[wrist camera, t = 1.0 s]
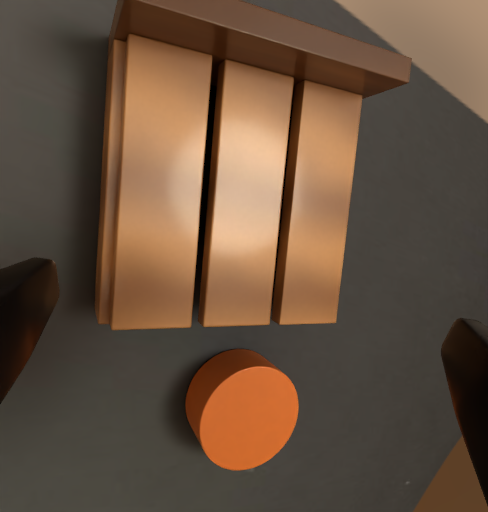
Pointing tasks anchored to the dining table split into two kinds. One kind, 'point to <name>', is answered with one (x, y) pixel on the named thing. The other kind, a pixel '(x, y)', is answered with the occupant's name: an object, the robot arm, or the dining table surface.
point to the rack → (228, 163)
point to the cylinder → (241, 409)
